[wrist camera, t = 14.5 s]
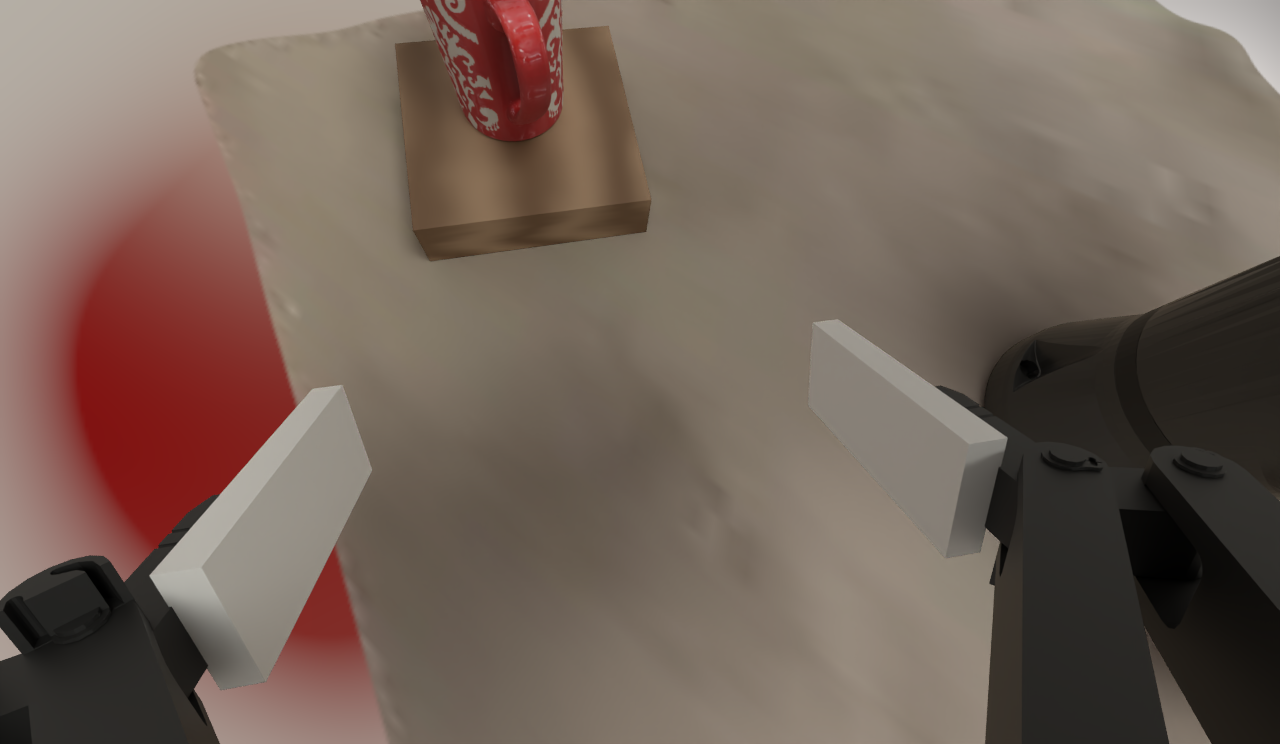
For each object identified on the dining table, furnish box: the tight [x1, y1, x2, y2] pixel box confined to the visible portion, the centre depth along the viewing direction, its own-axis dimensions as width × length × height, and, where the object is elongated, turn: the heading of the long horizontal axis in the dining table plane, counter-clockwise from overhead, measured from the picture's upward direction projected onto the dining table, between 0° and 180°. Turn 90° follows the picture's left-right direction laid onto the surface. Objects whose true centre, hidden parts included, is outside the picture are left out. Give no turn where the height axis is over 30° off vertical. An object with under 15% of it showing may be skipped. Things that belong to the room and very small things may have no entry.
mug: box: [420, 0, 564, 141], centre depth 33 cm, size 13×9×14 cm
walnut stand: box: [395, 26, 651, 261], centre depth 41 cm, size 16×16×4 cm
